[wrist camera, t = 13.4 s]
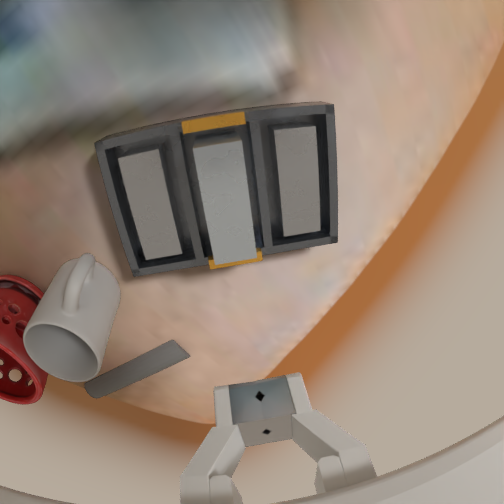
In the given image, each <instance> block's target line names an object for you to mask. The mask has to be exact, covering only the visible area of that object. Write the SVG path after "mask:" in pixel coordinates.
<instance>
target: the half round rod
mask: <svg viewBox="0 0 504 504" xmlns="http://www.w3.org/2000/svg"><path fill="white" fill-rule="evenodd" d="M189 357H191V356H190V355H189V354H188V353H187V352H186V351H185V350H184V349H183V348H181V347H180V346H179V345H178V344H177V343H176V342H175V341H174V340H170V341H168V342H166V343H164V344H162V345H161V346H159V347H157V348H155V349H153V350H151V351H149V352H147V353H145V354H143V355H141V356H139V357H137V358H135V359H133V360H131V361H129V362H127V363H125V364H123V365H121V366H119V367H117V368H115V369H113V370H111V371H109V372H107V373H105V374H103V375H100V376H98V377H96V378H94V379H92V380H90V381H88V382H86V383H85V384H84V385H85V389H86V391H87V393H88V394H89V395H90V396H92V397H93V398H100V397H103V396H105V395H107V394H110V393H112V392H114V391H117V390H119V389H121V388H124V387H126V386H128V385H130V384H133V383H135V382H137V381H139V380H142V379H144V378H146V377H148V376H150V375H153V374H155V373H157V372H159V371H161V370H163V369H166V368H168V367H170V366H172V365H174V364H176V363H178V362H180V361H183V360H185V359H187V358H189Z"/></svg>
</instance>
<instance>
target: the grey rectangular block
mask: <svg viewBox="0 0 504 504" xmlns="http://www.w3.org/2000/svg"><path fill="white" fill-rule="evenodd" d="M193 153H194V159H195V164H196V170H197V175H198V181H199V186H200V191H201V197H202V202H203V207H204V212H205V217H206V222H207V227H208V233H209V237H210V242H211V247H212V252H213V257H214V262H215V265H218V264H224V263H230V262H236V261H242V260H248V259H253V258H257V253H256V245H255V237H254V230H253V222H252V214H251V207H250V199H249V191H248V184H247V176H246V168H245V161H244V153H243V146H242V140H241V138H240V137H239V135H238V133H237V132H236V130H228V131H222V132H216V133H209V134H204V135H198V136H195V141H194V145H193Z"/></svg>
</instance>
